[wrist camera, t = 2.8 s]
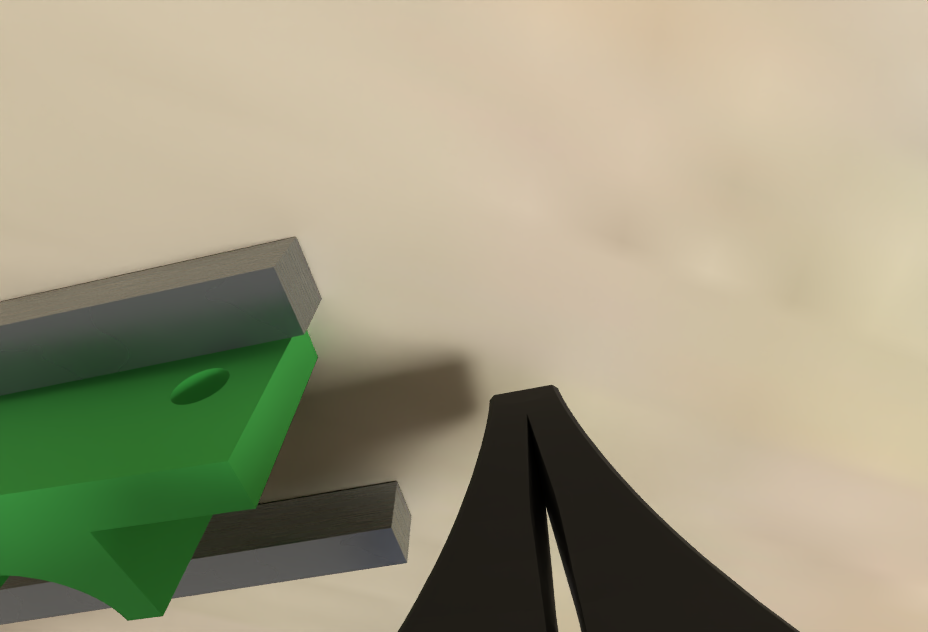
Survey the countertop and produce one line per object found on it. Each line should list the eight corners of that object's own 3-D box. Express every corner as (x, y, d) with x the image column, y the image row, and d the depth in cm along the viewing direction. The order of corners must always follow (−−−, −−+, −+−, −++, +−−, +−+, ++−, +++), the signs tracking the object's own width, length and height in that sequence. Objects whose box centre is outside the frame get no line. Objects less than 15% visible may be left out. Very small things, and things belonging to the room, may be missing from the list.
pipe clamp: (-24, 487, 14) (-208, 663, 10) (-123, 385, 13) (-394, 552, 9) (352, 433, 13) (307, 605, 9) (305, 314, 12) (223, 466, 8)
